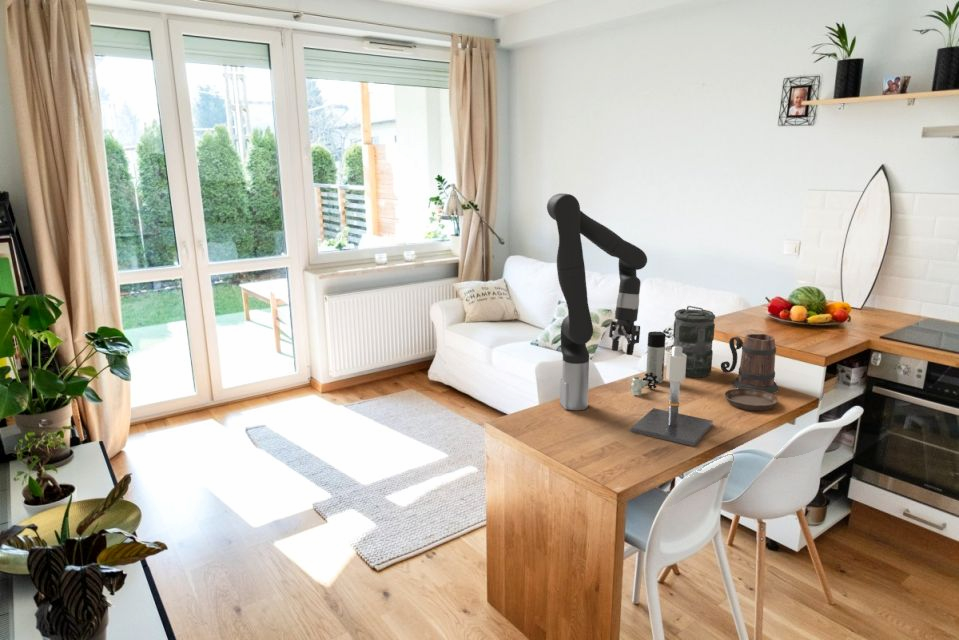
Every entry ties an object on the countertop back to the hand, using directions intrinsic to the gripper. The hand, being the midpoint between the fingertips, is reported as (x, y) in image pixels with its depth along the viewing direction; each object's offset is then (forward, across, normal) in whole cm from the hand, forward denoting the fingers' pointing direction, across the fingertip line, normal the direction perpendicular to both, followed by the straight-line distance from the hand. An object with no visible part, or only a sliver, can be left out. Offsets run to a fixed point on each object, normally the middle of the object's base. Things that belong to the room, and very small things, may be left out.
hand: (621, 352), depth 213 cm
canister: (+10, -22, +52) cm, 57 cm away
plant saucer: (+15, +15, +47) cm, 52 cm away
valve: (+17, -11, +20) cm, 28 cm away
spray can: (+14, -19, +31) cm, 39 cm away
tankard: (+11, -1, +62) cm, 63 cm away
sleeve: (+4, +23, +5) cm, 24 cm away
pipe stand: (+21, +21, +8) cm, 31 cm away
